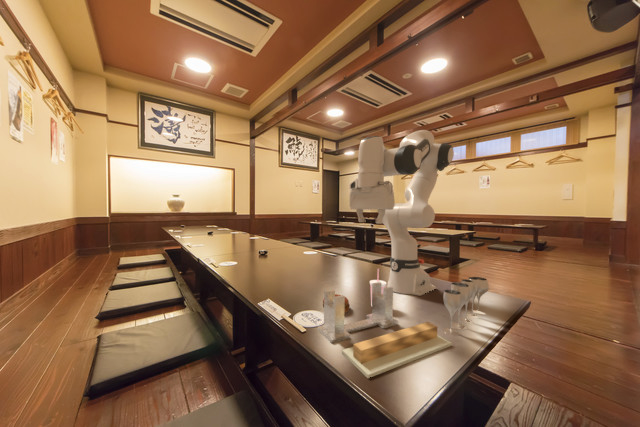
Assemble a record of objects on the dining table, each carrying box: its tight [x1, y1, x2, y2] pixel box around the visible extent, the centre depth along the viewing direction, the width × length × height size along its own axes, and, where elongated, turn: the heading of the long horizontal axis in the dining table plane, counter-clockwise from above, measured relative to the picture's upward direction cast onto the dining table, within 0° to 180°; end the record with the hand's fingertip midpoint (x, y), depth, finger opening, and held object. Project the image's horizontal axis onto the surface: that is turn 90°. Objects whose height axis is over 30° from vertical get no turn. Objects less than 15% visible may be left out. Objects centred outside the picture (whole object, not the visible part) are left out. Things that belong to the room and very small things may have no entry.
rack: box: [317, 282, 399, 344], centre depth 73 cm, size 24×8×12 cm, turn 118°
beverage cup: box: [369, 268, 387, 307], centre depth 89 cm, size 6×6×14 cm
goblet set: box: [442, 276, 490, 337], centre depth 79 cm, size 28×6×13 cm, turn 130°
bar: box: [352, 321, 438, 364], centre depth 62 cm, size 26×3×3 cm, turn 118°
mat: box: [341, 334, 453, 379], centre depth 62 cm, size 28×10×1 cm, turn 118°
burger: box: [322, 293, 350, 315], centre depth 86 cm, size 10×9×5 cm
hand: (369, 222), depth 84 cm, fingers open, 8 cm apart
